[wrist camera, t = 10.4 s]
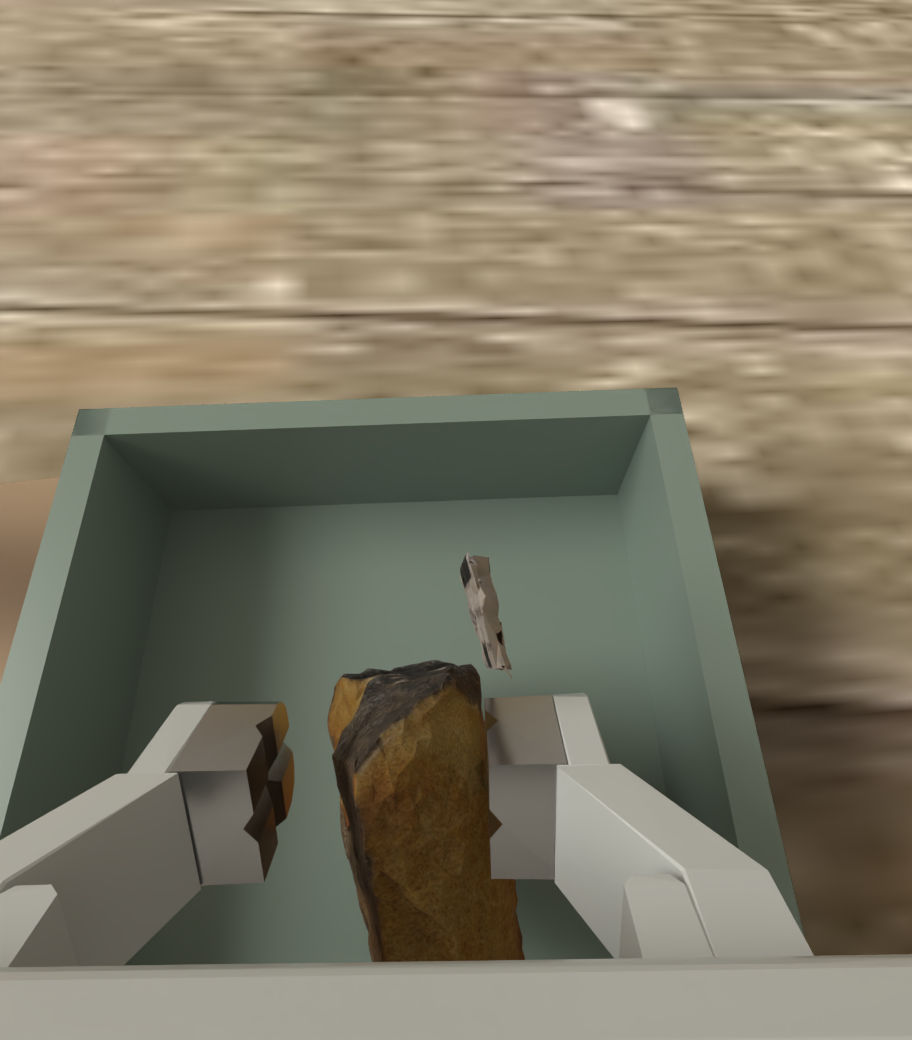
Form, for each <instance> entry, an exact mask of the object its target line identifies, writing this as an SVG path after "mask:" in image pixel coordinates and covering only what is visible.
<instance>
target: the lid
mask: <svg viewBox="0 0 912 1040" xmlns="http://www.w3.org/2000/svg"><path fill="white" fill-rule="evenodd" d="M59 478H60V477H56V478H47V479H38V480H29V481H20V482H11V483H1V484H0V684H1V681H2V677H3V674H4V670H5V667H6V663H7V660H8V656H9V653H10V649H11V646H12V642H13V639H14V635H15V632H16V628H17V625H18V621H19V618H20V614H21V611H22V607H23V604H24V600H25V597H26V593H27V590H28V586H29V583H30V579H31V576H32V572H33V569H34V565H35V562H36V558H37V555H38V551H39V548H40V544H41V541H42V537H43V534H44V530H45V527H46V523H47V520H48V516H49V513H50V509H51V506H52V502H53V499H54V495H55V492H56V488H57V485H58V481H59Z"/></svg>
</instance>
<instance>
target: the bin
mask: <svg viewBox="0 0 912 1040" xmlns="http://www.w3.org/2000/svg"><path fill="white" fill-rule="evenodd" d="M438 447H439V448H438ZM437 459H438V460H437ZM467 553H469V557H473V555H476V556H483V557H489V564H490V573H491V578H492V583H493V585H494V588H495V590H496V593H497V598H498V602H499V612H498V618H499V622H501V623H502V629H503V636H504V642H505V649H506V654H507V656H508V659H509V661H510V664H511V668H512V670H508V669H507V670H508V671H509V673H510V675H511V676H512V679H511V677H510V676H509V675H508V673H507V672H506V671H505V670H502V671H501V670H497V669H490V668H487V667H486V666H485V664H484V662H483V659H482V647H481V644H480V641H479V639H478V637H477V635H476V632H475V629H474V626H473V624H472V619H471V617H470V613H469V608H468V599H467V596H466V594H465V591H464V587H463V584H462V581H461V574H460V567H461V564H462V562H463V559H464V557H465V555H467ZM484 598H485V597H484ZM430 660H439V661H441V662H448V663H453V664H455V665H457V666H460V665H466V664H472V665H473V666H474V667H475V668H476V669H477V672H478V674H479V675H480V682H481V692H482V704H481V708H482V713H483V719H484V721H485V698H495V697H518V696H541V695H553V694H570V693H585V694H586V695H587V696H588V698H589V701H590V704H591V707H592V710H593V713H594V716H595V719H596V722H597V725H598V728H599V731H600V734H601V737H602V740H603V743H604V746H605V749H606V753H607V756H608V759H609V762H610V764H621V765H623V766H624V767H626V768H627V769H628V770H630V771H631V772H632V773H634V774H635V775H637V776H638V777H639V778H641V779H642V780H644V781H645V782H646V783H648V784H649V785H650V786H652V787H653V788H655V789H656V790H657V791H659V792H660V793H661V794H663V795H664V796H666V797H667V798H668V799H670V800H671V801H673V802H674V803H675V804H677V805H678V806H679V807H681V808H682V809H684V810H685V811H686V812H688V813H689V814H691V815H692V816H693V817H695V818H696V819H697V820H699V821H700V822H702V823H703V824H704V825H706V826H707V827H709V828H710V829H711V830H713V831H714V832H715V833H717V834H718V835H720V836H721V837H722V838H724V839H725V840H727V841H728V842H729V843H731V844H732V845H733V846H735V847H736V848H738V849H739V850H740V851H742V852H743V853H745V854H746V855H747V856H749V857H750V858H751V859H753V860H754V861H756V862H757V863H758V864H760V865H761V866H763V867H764V868H765V869H767V870H768V871H769V873H770V875H771V877H772V879H773V881H774V882H775V884H776V886H777V888H778V890H779V892H780V894H781V895H782V897H783V899H784V901H785V903H786V905H787V907H788V908H789V910H790V912H791V914H792V916H793V918H794V920H795V921H796V923H797V925H798V927H799V929H800V931H801V932H802V934H803V936H804V932H803V928H802V924H801V919H800V915H799V911H798V906H797V902H796V898H795V893H794V889H793V885H792V880H791V876H790V872H789V868H788V863H787V859H786V855H785V850H784V846H783V842H782V837H781V833H780V829H779V824H778V820H777V816H776V812H775V807H774V803H773V799H772V794H771V790H770V786H769V781H768V777H767V773H766V768H765V764H764V760H763V756H762V751H761V747H760V743H759V738H758V734H757V730H756V725H755V721H754V717H753V712H752V708H751V704H750V700H749V695H748V691H747V687H746V682H745V678H744V674H743V669H742V665H741V661H740V656H739V652H738V648H737V644H736V639H735V635H734V631H733V626H732V622H731V618H730V613H729V609H728V605H727V600H726V596H725V592H724V588H723V583H722V579H721V575H720V570H719V566H718V562H717V557H716V553H715V549H714V544H713V540H712V536H711V532H710V527H709V523H708V519H707V514H706V510H705V506H704V501H703V497H702V493H701V488H700V484H699V480H698V476H697V471H696V467H695V463H694V458H693V454H692V450H691V445H690V441H689V437H688V432H687V428H686V424H685V420H684V415H683V411H682V407H681V402H680V398H679V394H678V389H677V388H650V389H623V390H595V391H568V392H541V393H513V394H486V395H459V396H432V397H404V398H377V399H350V400H322V401H295V402H268V403H240V404H213V405H186V406H158V407H131V408H104V409H79V411H78V415H77V418H76V422H75V425H74V429H73V432H72V436H71V439H70V443H69V446H68V450H67V453H66V457H65V460H64V464H63V467H62V471H61V474H60V478H59V481H58V485H57V488H56V492H55V495H54V499H53V502H52V506H51V509H50V513H49V516H48V520H47V523H46V527H45V530H44V534H43V537H42V541H41V544H40V548H39V551H38V555H37V558H36V562H35V565H34V569H33V572H32V576H31V579H30V583H29V586H28V590H27V593H26V597H25V600H24V604H23V607H22V611H21V614H20V618H19V621H18V625H17V628H16V632H15V635H14V639H13V642H12V646H11V649H10V653H9V656H8V660H7V663H6V667H5V670H4V674H3V677H2V681H1V684H0V840H2V839H4V838H5V837H7V836H9V835H11V834H12V833H14V832H16V831H18V830H19V829H21V828H23V827H24V826H26V825H28V824H30V823H31V822H33V821H35V820H37V819H38V818H40V817H42V816H44V815H45V814H47V813H49V812H51V811H52V810H54V809H56V808H58V807H59V806H61V805H63V804H65V803H66V802H68V801H70V800H72V799H73V798H75V797H77V796H79V795H80V794H82V793H84V792H86V791H87V790H89V789H91V788H93V787H94V786H96V785H98V784H100V783H101V782H103V781H105V780H107V779H108V778H110V777H112V776H114V775H115V774H127V773H128V772H129V770H130V769H131V768H132V766H133V765H134V763H135V762H136V761H137V759H138V758H139V757H140V755H141V754H142V752H143V751H144V750H145V748H146V747H147V745H148V744H149V743H150V741H151V740H152V738H153V737H154V736H155V734H156V733H157V732H158V730H159V729H160V727H161V726H162V725H163V723H164V722H165V720H166V719H167V718H168V716H169V715H170V713H171V712H172V711H173V709H174V708H175V707H176V706H177V705H178V704H181V703H183V702H206V701H213V702H218V701H282V702H283V704H284V705H285V706H286V709H287V715H288V721H289V728H288V731H287V734H286V736H285V739H284V741H283V742H284V743H285V744H286V745H287V746H288V747H289V748H290V749H291V750H292V751H293V758H294V775H295V783H294V790H293V796H292V803H291V806H290V809H289V812H288V816H287V818H286V819H285V820H284V821H283V822H282V823H280V824H279V825H278V826H277V827H276V831H277V838H278V845H277V848H276V851H275V854H274V856H273V859H272V862H271V865H270V868H269V871H268V874H267V877H266V879H265V882H264V883H245V884H224V885H203V886H201V890H200V891H199V892H198V893H197V894H196V895H195V896H194V897H193V898H192V899H191V900H190V901H189V902H188V903H187V904H186V905H185V906H184V907H183V908H181V909H180V910H179V911H178V912H177V913H176V914H175V915H174V916H173V917H172V918H171V919H170V920H169V921H168V922H167V923H166V924H165V925H164V926H163V927H162V928H161V929H160V930H159V931H158V932H157V933H156V934H155V935H154V936H153V937H152V938H151V939H150V940H149V941H148V942H147V943H146V944H145V945H144V946H143V947H142V948H141V949H140V950H139V951H138V952H137V953H136V954H135V955H134V956H133V957H132V958H131V959H130V960H129V961H128V962H127V963H126V964H125V965H186V964H260V963H337V962H372V960H371V956H370V951H369V946H368V935H369V933H368V930H367V928H366V925H365V923H364V919H363V916H362V913H361V910H360V907H359V901H358V896H357V891H356V885H355V882H354V878H353V874H352V870H351V866H350V863H349V860H348V859H347V856H346V852H345V848H344V843H343V839H342V835H341V825H340V793H339V790H338V787H337V781H336V775H335V770H334V765H333V760H332V755H333V753H334V749H333V747H332V743H331V740H330V736H329V731H328V726H327V719H328V713H329V709H330V705H331V701H332V698H333V694H334V687H335V685H336V684H337V682H338V680H339V679H340V677H341V676H342V675H343V674H360V673H362V672H363V671H365V670H366V669H367V668H373V669H381V670H388V671H390V670H391V669H393V668H396V667H402V666H406V665H411V664H417V663H421V662H424V661H430ZM515 880H516V893H517V897H518V902H517V908H516V914H517V917H518V922H519V926H520V930H521V934H522V937H523V941H522V950H523V953H524V956H525V960H556V959H614V958H613V956H612V955H611V954H610V952H609V951H608V950H607V949H606V947H605V946H604V945H603V944H602V942H601V941H600V940H599V939H598V937H597V936H596V935H595V933H594V932H593V931H592V930H591V928H590V927H589V926H588V925H587V923H586V922H585V921H584V919H583V918H582V917H581V916H580V914H579V913H578V912H577V911H576V909H575V908H574V907H573V905H572V904H571V903H570V902H569V900H568V899H567V898H566V897H565V895H564V894H563V893H562V892H561V890H560V889H559V888H558V886H557V885H556V884H555V880H546V879H515ZM804 938H805V936H804ZM123 966H124V965H123Z"/></svg>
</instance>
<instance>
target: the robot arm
mask: <svg viewBox="0 0 912 1040" xmlns="http://www.w3.org/2000/svg"><path fill="white" fill-rule="evenodd" d="M513 719H514V720H513ZM288 728H289V721H288V715H287V709H286V706H285V705H284V704H283V702H282V701H218V702H213V701H206V702H183V703H181V704H178V705H177V706H176V707H175V708H174V709H173V711H172V712H171V713H170V715H169V716H168V718H167V719H166V720H165V722H164V723H163V725H162V726H161V727H160V729H159V730H158V732H157V733H156V734H155V736H154V737H153V738H152V740H151V741H150V743H149V744H148V745H147V747H146V748H145V750H144V751H143V752H142V754H141V755H140V757H139V758H138V759H137V761H136V762H135V763H134V765H133V766H132V768H131V769H130V770H129V772H128V773H127V774H115V775H114V776H112V777H110V778H108V779H107V780H105V781H103V782H101V783H100V784H98V785H96V786H94V787H93V788H91V789H89V790H87V791H86V792H84V793H82V794H80V795H79V796H77V797H75V798H73V799H72V800H70V801H68V802H66V803H65V804H63V805H61V806H59V807H58V808H56V809H54V810H52V811H51V812H49V813H47V814H45V815H44V816H42V817H40V818H38V819H37V820H35V821H33V822H31V823H30V824H28V825H26V826H24V827H23V828H21V829H19V830H18V831H16V832H14V833H12V834H11V835H9V836H7V837H5V838H4V839H2V840H0V1040H912V954H893V955H826V956H814V955H813V953H812V951H811V949H810V947H809V945H808V944H807V942H806V940H805V938H804V936H803V934H802V932H801V931H800V929H799V927H798V925H797V923H796V921H795V920H794V918H793V916H792V914H791V912H790V910H789V908H788V907H787V905H786V903H785V901H784V899H783V897H782V895H781V894H780V892H779V890H778V888H777V886H776V884H775V882H774V881H773V879H772V877H771V875H770V873H769V871H768V870H767V869H765V868H764V867H763V866H761V865H760V864H758V863H757V862H756V861H754V860H753V859H751V858H750V857H749V856H747V855H746V854H745V853H743V852H742V851H740V850H739V849H738V848H736V847H735V846H733V845H732V844H731V843H729V842H728V841H727V840H725V839H724V838H722V837H721V836H720V835H718V834H717V833H715V832H714V831H713V830H711V829H710V828H709V827H707V826H706V825H704V824H703V823H702V822H700V821H699V820H697V819H696V818H695V817H693V816H692V815H691V814H689V813H688V812H686V811H685V810H684V809H682V808H681V807H679V806H678V805H677V804H675V803H674V802H673V801H671V800H670V799H668V798H667V797H666V796H664V795H663V794H661V793H660V792H659V791H657V790H656V789H655V788H653V787H652V786H650V785H649V784H648V783H646V782H645V781H644V780H642V779H641V778H639V777H638V776H637V775H635V774H634V773H632V772H631V771H630V770H628V769H627V768H626V767H624V766H623V765H621V764H610V762H609V759H608V756H607V753H606V749H605V746H604V743H603V740H602V737H601V734H600V731H599V728H598V725H597V722H596V719H595V716H594V713H593V710H592V707H591V704H590V701H589V698H588V696H587V695H586V694H585V693H570V694H553V695H541V696H518V697H495V698H485V739H486V748H485V753H486V789H487V810H488V826H489V849H490V866H491V879H546V880H555V884H556V885H557V886H558V888H559V889H560V890H561V892H562V893H563V894H564V895H565V897H566V898H567V899H568V900H569V902H570V903H571V904H572V905H573V907H574V908H575V909H576V911H577V912H578V913H579V914H580V916H581V917H582V918H583V919H584V921H585V922H586V923H587V925H588V926H589V927H590V928H591V930H592V931H593V932H594V933H595V935H596V936H597V937H598V939H599V940H600V941H601V942H602V944H603V945H604V946H605V947H606V949H607V950H608V951H609V952H610V954H611V955H612V956H613V958H614V959H556V960H489V961H414V962H337V963H260V964H186V965H125V964H126V963H127V962H128V961H129V960H130V959H131V958H132V957H133V956H134V955H135V954H136V953H137V952H138V951H139V950H140V949H141V948H142V947H143V946H144V945H145V944H146V943H147V942H148V941H149V940H150V939H151V938H152V937H153V936H154V935H155V934H156V933H157V932H158V931H159V930H160V929H161V928H162V927H163V926H164V925H165V924H166V923H167V922H168V921H169V920H170V919H171V918H172V917H173V916H174V915H175V914H176V913H177V912H178V911H179V910H180V909H181V908H183V907H184V906H185V905H186V904H187V903H188V902H189V901H190V900H191V899H192V898H193V897H194V896H195V895H196V894H197V893H198V892H199V891H200V890H201V886H203V885H224V884H245V883H264V882H265V879H266V877H267V874H268V871H269V868H270V865H271V862H272V859H273V856H274V854H275V851H276V848H277V845H278V838H277V831H276V827H277V826H278V825H279V824H280V823H282V822H283V821H284V820H285V819H286V818H287V816H288V812H289V809H290V806H291V803H292V796H293V790H294V783H295V775H294V758H293V751H292V750H291V749H290V748H289V747H288V746H287V745H286V744H285V743H284V742H283V741H284V739H285V736H286V734H287V731H288ZM517 738H518V739H517ZM123 965H124V966H123Z"/></svg>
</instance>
